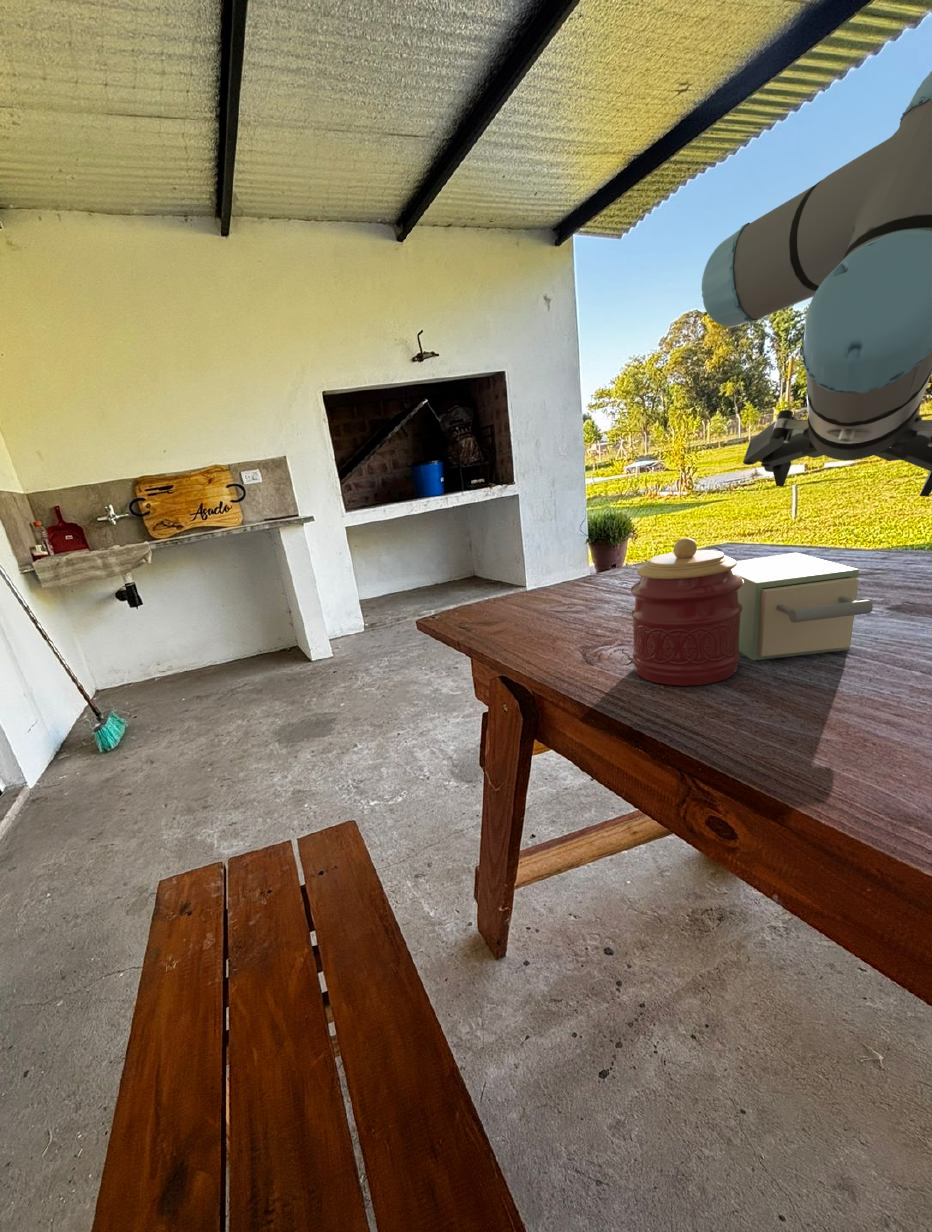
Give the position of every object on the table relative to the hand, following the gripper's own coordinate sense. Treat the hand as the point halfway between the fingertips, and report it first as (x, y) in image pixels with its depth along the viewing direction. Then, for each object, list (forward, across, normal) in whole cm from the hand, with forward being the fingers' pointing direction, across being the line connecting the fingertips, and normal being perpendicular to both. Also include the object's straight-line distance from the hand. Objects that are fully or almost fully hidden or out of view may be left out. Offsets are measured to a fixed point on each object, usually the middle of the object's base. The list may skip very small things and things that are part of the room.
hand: (851, 479), depth 61 cm
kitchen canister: (0, -10, -26) cm, 28 cm away
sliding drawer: (+9, -1, -19) cm, 21 cm away
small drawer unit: (+13, -3, -19) cm, 23 cm away
